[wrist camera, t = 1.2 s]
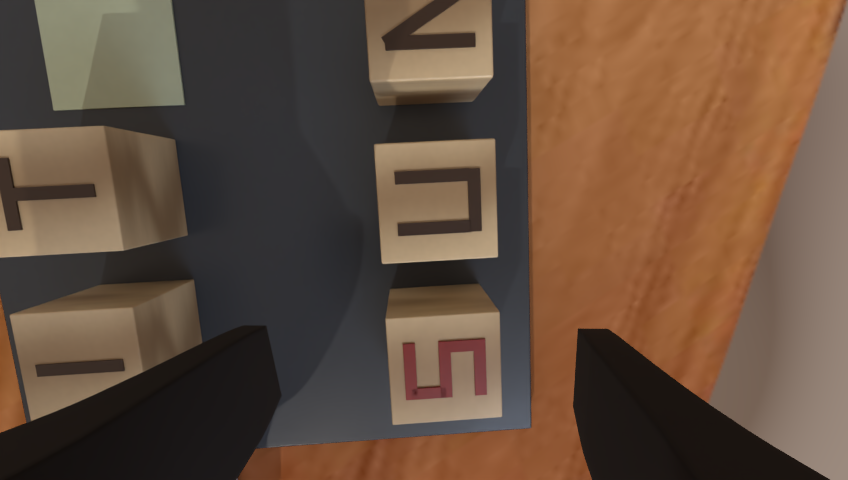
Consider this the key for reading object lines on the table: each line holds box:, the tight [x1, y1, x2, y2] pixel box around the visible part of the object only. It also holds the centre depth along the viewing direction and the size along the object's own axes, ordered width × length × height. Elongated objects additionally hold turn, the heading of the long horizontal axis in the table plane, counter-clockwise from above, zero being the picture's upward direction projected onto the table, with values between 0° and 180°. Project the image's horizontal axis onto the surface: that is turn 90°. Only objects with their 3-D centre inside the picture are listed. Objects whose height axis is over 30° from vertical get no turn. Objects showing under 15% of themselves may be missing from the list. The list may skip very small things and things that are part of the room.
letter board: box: [0, 0, 531, 448], centre depth 16 cm, size 22×24×5 cm
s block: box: [385, 284, 502, 425], centre depth 17 cm, size 4×4×4 cm
